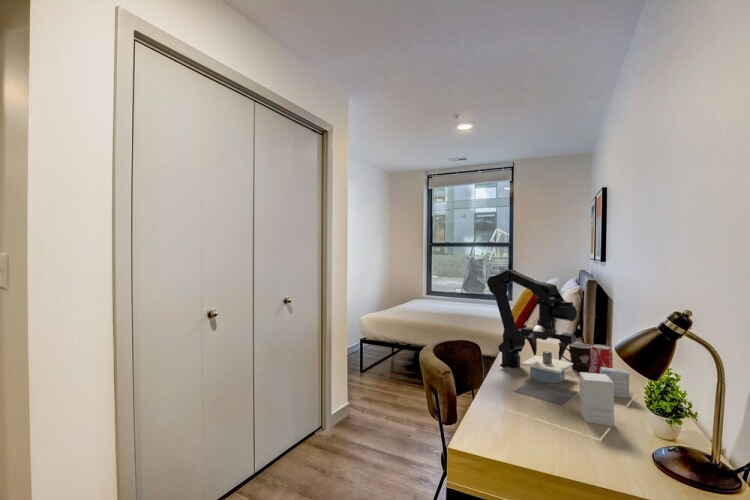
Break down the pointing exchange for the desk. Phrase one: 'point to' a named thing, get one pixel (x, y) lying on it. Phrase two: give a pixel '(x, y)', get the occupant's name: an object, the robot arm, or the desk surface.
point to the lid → (547, 363)
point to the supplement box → (597, 398)
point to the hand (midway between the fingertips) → (547, 357)
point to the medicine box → (618, 380)
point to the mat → (546, 392)
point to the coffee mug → (580, 356)
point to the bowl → (547, 375)
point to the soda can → (600, 358)
